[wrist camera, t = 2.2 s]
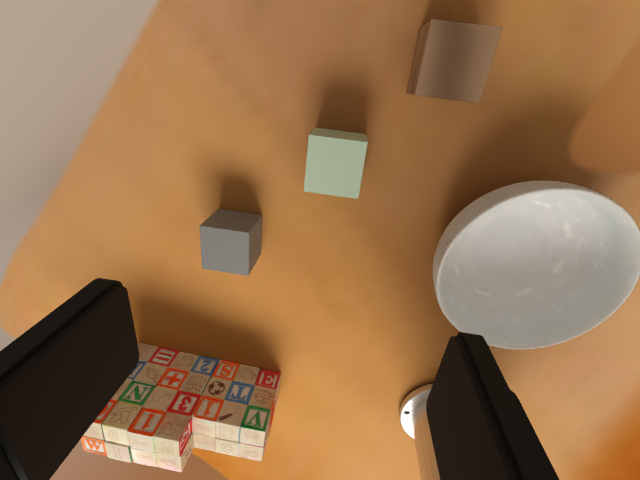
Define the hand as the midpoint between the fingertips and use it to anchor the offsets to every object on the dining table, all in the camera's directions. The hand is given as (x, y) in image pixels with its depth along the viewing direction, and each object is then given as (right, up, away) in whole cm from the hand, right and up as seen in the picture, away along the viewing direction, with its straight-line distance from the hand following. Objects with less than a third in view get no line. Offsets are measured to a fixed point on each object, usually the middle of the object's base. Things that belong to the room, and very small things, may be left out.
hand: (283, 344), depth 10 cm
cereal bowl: (+21, +3, +26) cm, 34 cm away
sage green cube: (+3, +12, +24) cm, 27 cm away
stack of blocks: (-15, -16, +39) cm, 45 cm away
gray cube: (-8, +4, +29) cm, 30 cm away
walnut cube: (+12, +18, +19) cm, 29 cm away
